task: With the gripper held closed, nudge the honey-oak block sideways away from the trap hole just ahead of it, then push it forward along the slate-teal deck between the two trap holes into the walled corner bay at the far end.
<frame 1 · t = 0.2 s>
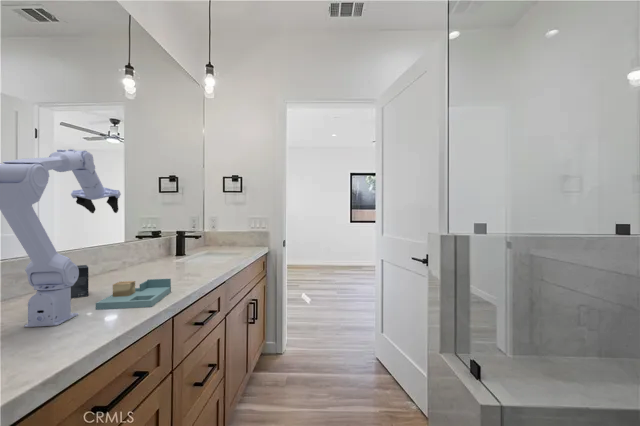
hand: (105, 211, 117), 30 cm above the worktop, tool tilted 45°, fingers open, 7 cm apart
box: (78, 296, 118), on the worktop
block: (124, 294, 110), point 2 cm above the worktop, touching trap deck
trap deck: (137, 299, 110), on the worktop
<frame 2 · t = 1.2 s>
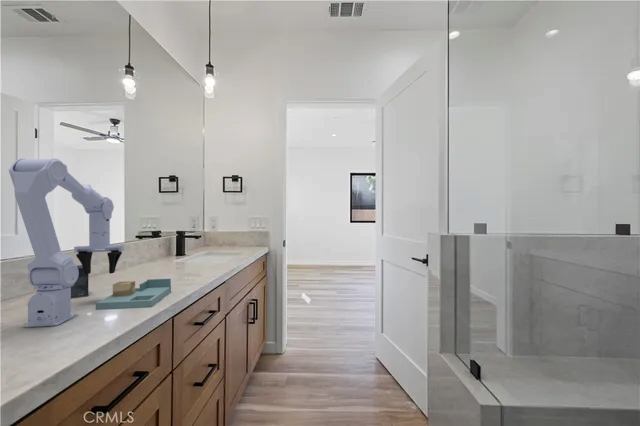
hand: (99, 273, 109), 9 cm above the worktop, tool pointing down, fingers open, 7 cm apart
nothing on the worktop moved.
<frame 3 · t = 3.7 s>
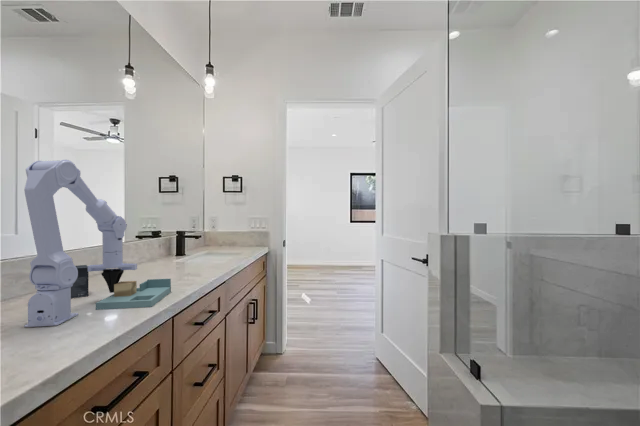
hand: (113, 292, 109), 3 cm above the worktop, tool pointing down, fingers closed
block: (125, 294, 110), point 2 cm above the worktop, touching gripper
everything else where it was.
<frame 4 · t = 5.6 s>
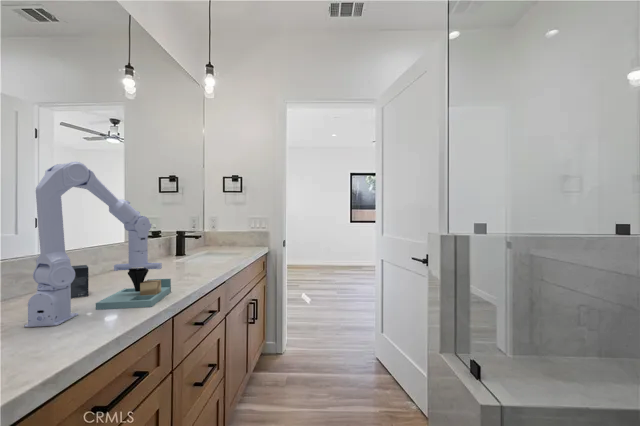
hand: (138, 290, 110), 3 cm above the worktop, tool pointing down, fingers closed
block: (150, 293, 111), point 2 cm above the worktop, touching gripper, trap deck
everything else where it was.
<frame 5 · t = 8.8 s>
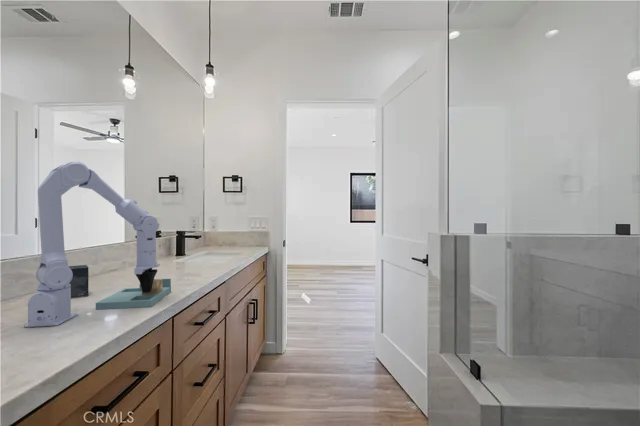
hand: (146, 292, 108), 3 cm above the worktop, tool pointing down, fingers closed
block: (152, 292, 112), point 2 cm above the worktop, touching gripper
everything else where it was.
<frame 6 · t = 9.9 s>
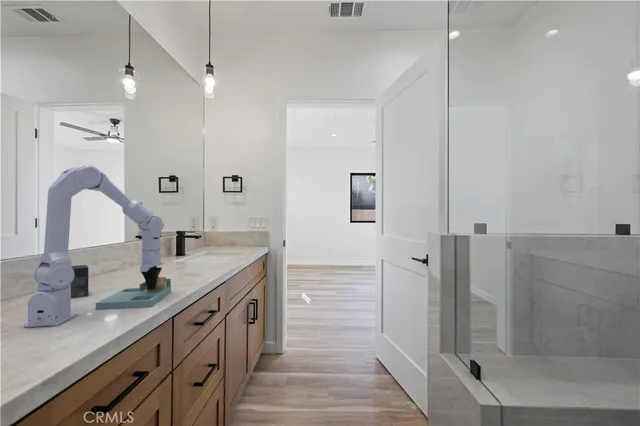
hand: (151, 289, 113), 3 cm above the worktop, tool pointing down, fingers closed
block: (156, 289, 117), point 2 cm above the worktop, touching gripper, trap deck
everything else where it was.
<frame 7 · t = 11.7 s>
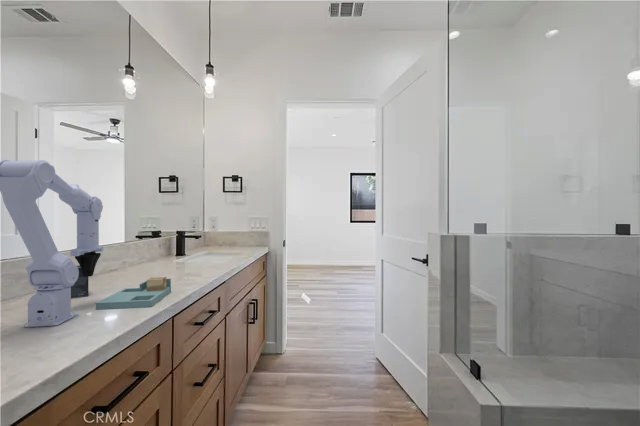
hand: (88, 276, 104), 9 cm above the worktop, tool pointing down, fingers closed
block: (156, 289, 117), point 2 cm above the worktop, touching trap deck
everything else where it was.
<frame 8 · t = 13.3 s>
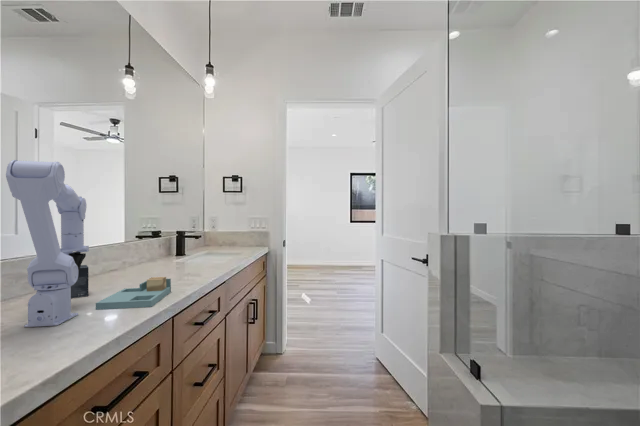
hand: (72, 276, 103), 9 cm above the worktop, tool pointing down, fingers closed
nothing on the worktop moved.
at the end: block 0.5 cm from the target spot, point 2.0 cm above the worktop; block tilted 0° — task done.
